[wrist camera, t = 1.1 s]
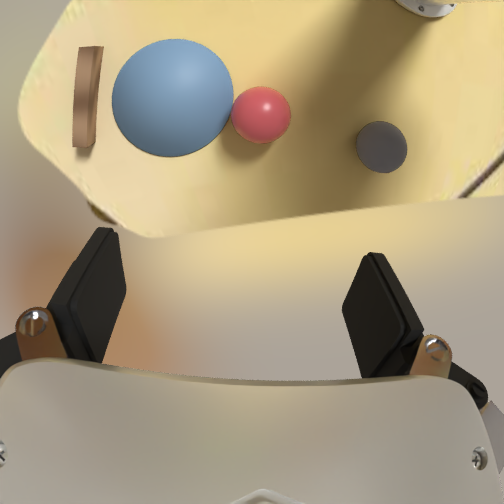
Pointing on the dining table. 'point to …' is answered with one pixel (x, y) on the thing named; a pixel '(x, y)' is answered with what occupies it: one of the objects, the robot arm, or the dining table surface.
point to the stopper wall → (86, 95)
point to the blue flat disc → (172, 97)
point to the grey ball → (381, 147)
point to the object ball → (260, 115)
